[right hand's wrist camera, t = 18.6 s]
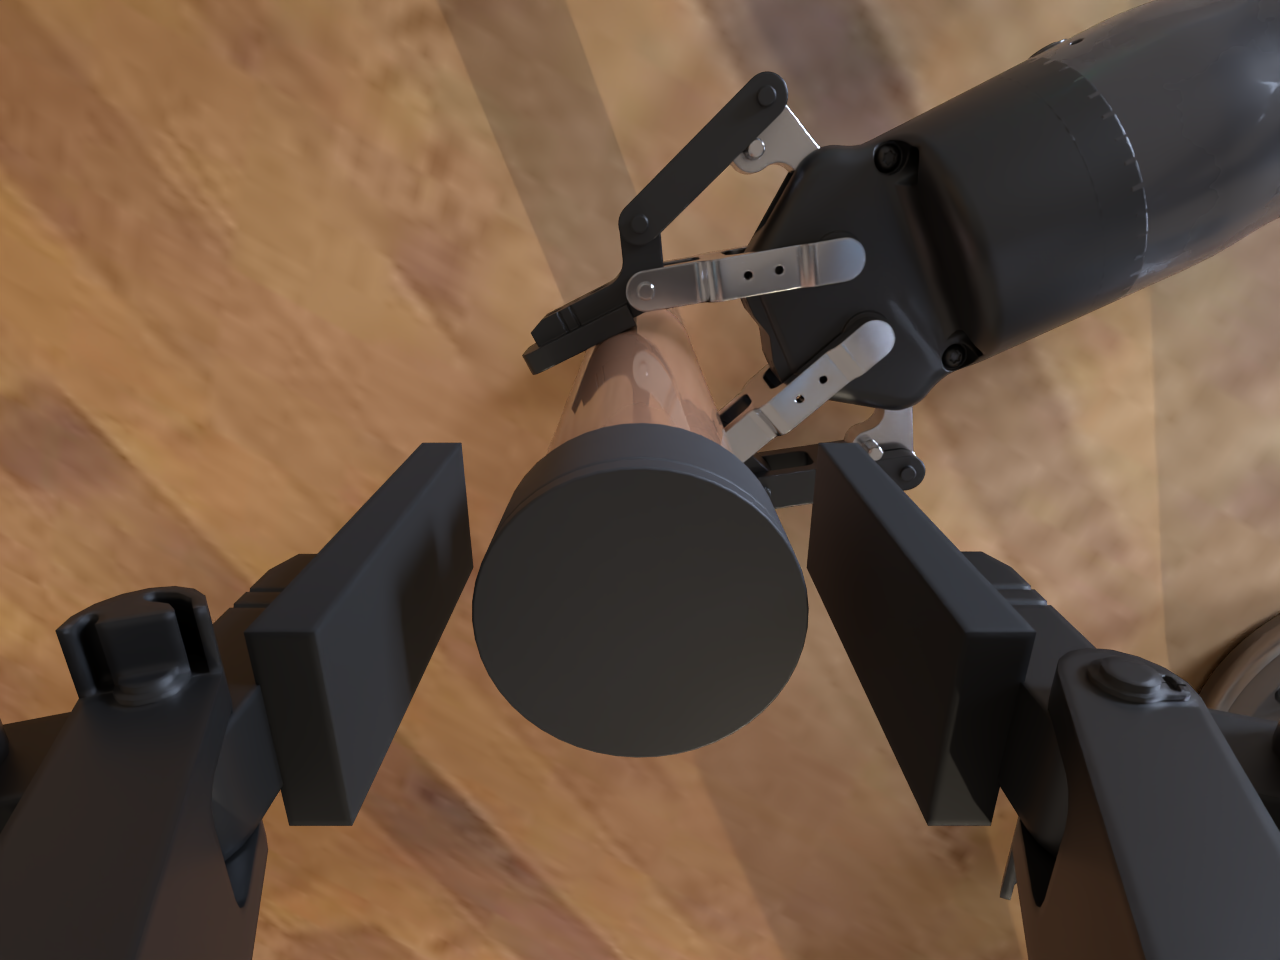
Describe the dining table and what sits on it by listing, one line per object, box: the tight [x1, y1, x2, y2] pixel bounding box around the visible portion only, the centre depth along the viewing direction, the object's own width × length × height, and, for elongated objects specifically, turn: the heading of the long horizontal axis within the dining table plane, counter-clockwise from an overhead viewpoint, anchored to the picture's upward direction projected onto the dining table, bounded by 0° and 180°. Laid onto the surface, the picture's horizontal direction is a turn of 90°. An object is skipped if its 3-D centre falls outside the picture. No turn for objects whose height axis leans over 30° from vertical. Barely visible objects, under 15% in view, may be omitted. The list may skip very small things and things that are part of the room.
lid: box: [472, 423, 809, 757], centre depth 11 cm, size 5×5×2 cm
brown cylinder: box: [546, 309, 734, 455], centre depth 20 cm, size 4×4×20 cm
